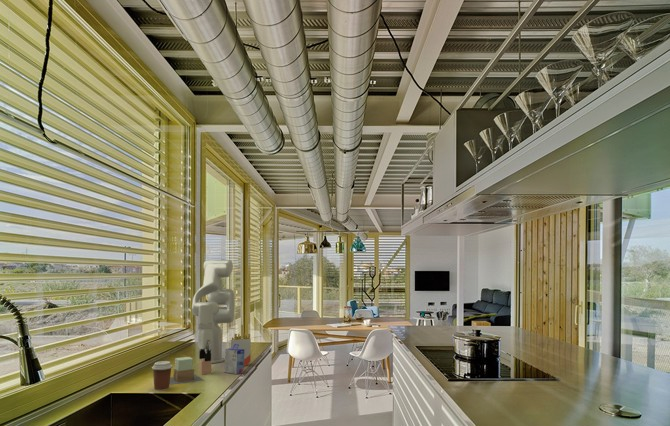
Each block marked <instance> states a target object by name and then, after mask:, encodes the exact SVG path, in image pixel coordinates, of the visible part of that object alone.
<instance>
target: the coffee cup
mask: <svg viewBox="0 0 670 426" xmlns="http://www.w3.org/2000/svg"><path fill="white" fill-rule="evenodd" d="M173 367H174V365H172V363H171V361H167V360H164V361H163V360H162V361H157V362H155V363H154V364H153V366H151V370H152V373H153V389H154V390H155V391H166V390H169V389H170V386H171V385H170V378H171V374H172V369H174V368H173Z"/></svg>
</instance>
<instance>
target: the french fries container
mask: <svg viewBox="0 0 670 426" xmlns="http://www.w3.org/2000/svg"><path fill="white" fill-rule="evenodd" d="M240 334H241V333H234V336H232V337H231V339H230V348H233V346H234V344H239V347H238V346H237V345H236V346H235V347H238V349H244V367H246V366H247V365H249V363H250V362H251V352H252V351H251V345H252V343H251V334H250V333H248V334H245V333H242V335H240Z"/></svg>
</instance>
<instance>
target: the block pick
mask: <svg viewBox="0 0 670 426" xmlns="http://www.w3.org/2000/svg"><path fill="white" fill-rule="evenodd" d="M198 374H200V375H202V376H203V375H210V374H212V363H211V361H205V360H203V359H199V361H198Z"/></svg>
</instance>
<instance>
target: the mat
mask: <svg viewBox="0 0 670 426" xmlns="http://www.w3.org/2000/svg"><path fill="white" fill-rule="evenodd" d="M203 381H205V379H203V378H202V377H200V376H199V375H197V374H195V373H194V380H189V381H181V382H177V381H175V380H174V379H173V377H171V376H170V385H169V386H173V385H180V384H188V383H196V382H203Z"/></svg>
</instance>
